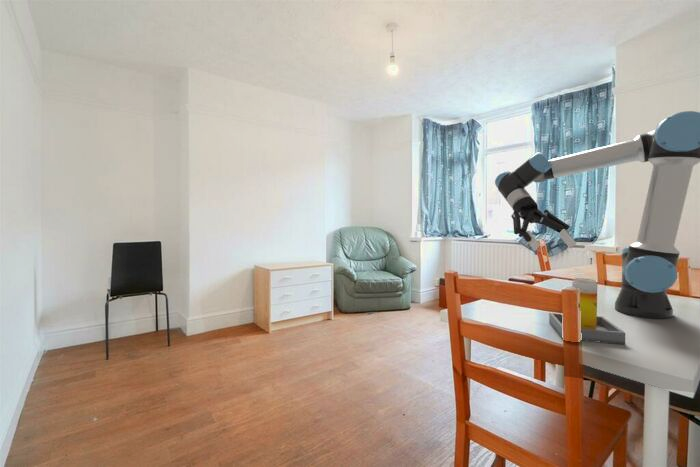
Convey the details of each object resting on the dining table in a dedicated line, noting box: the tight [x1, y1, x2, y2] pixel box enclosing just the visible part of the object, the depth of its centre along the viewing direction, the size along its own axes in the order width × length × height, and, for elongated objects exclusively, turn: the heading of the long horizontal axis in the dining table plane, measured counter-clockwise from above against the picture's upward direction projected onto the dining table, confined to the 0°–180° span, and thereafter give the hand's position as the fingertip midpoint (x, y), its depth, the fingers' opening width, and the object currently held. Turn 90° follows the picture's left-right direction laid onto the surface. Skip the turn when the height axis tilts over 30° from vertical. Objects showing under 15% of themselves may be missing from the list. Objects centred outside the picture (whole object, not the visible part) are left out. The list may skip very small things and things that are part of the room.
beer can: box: [571, 277, 598, 330], centre depth 95 cm, size 6×6×15 cm
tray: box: [548, 312, 626, 345], centre depth 95 cm, size 15×15×3 cm
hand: (555, 247), depth 105 cm, fingers open, 13 cm apart
